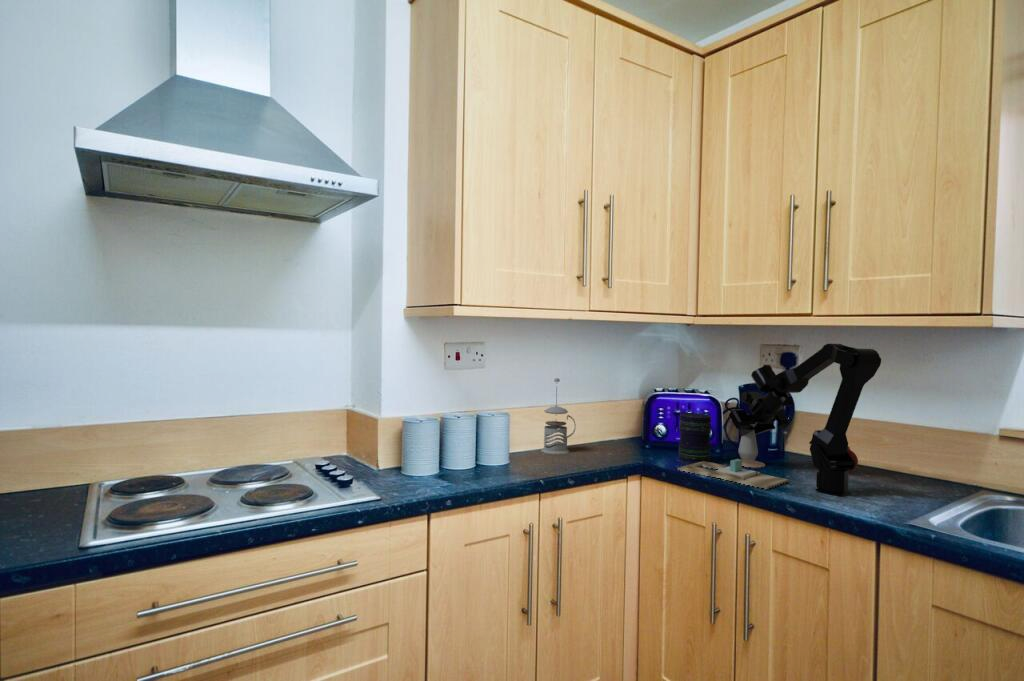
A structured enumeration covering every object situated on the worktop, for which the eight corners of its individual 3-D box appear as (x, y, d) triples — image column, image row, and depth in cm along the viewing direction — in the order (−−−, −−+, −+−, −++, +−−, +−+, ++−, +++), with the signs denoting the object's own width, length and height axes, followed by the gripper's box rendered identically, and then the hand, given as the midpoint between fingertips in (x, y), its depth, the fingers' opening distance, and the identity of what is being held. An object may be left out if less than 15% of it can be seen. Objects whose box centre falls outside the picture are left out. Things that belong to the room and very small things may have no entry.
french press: (541, 447, 203) (543, 376, 203) (574, 448, 202) (576, 377, 202) (540, 453, 194) (541, 378, 193) (575, 454, 192) (576, 379, 192)
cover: (755, 474, 166) (756, 460, 166) (742, 479, 161) (743, 464, 161) (729, 469, 172) (730, 456, 172) (715, 473, 167) (716, 459, 167)
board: (788, 482, 162) (788, 476, 162) (767, 489, 153) (767, 483, 153) (700, 464, 182) (700, 459, 182) (677, 470, 173) (677, 464, 173)
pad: (770, 465, 183) (770, 463, 183) (755, 469, 177) (755, 468, 177) (740, 459, 191) (740, 458, 191) (725, 463, 184) (725, 462, 184)
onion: (856, 476, 171) (857, 449, 171) (834, 472, 175) (835, 446, 175) (858, 472, 176) (859, 446, 176) (837, 469, 179) (837, 443, 179)
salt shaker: (743, 460, 180) (745, 419, 180) (734, 457, 186) (735, 416, 186) (761, 461, 181) (762, 419, 181) (751, 457, 187) (753, 417, 187)
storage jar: (673, 460, 186) (674, 414, 186) (686, 456, 194) (687, 412, 194) (702, 466, 180) (704, 418, 180) (715, 461, 187) (716, 415, 187)
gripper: (783, 383, 182) (758, 413, 193) (733, 383, 177) (710, 415, 188) (802, 411, 175) (775, 441, 185) (750, 412, 170) (725, 443, 180)
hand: (746, 434), depth 185 cm, fingers closed on salt shaker, 4 cm apart
